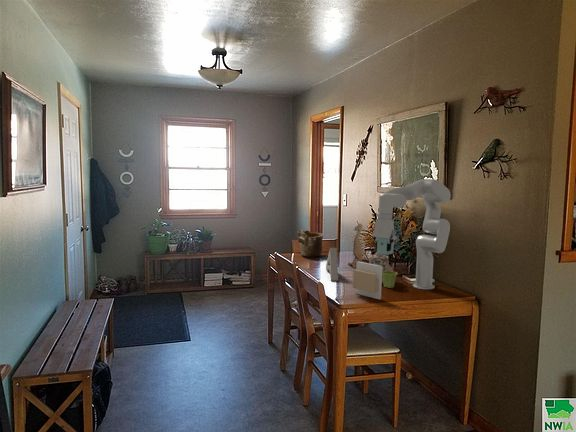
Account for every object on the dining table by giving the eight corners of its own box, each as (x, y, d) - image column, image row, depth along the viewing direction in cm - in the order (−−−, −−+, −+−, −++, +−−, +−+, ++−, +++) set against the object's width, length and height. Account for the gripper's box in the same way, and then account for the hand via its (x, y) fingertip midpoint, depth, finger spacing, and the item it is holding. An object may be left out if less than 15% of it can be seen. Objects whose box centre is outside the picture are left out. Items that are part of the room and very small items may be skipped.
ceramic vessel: (337, 247, 349) (319, 223, 342) (314, 267, 345) (296, 243, 339) (327, 242, 370) (310, 219, 364) (305, 261, 367) (287, 238, 360)
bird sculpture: (346, 265, 323) (347, 222, 319) (361, 264, 326) (362, 222, 322) (353, 269, 312) (353, 224, 309) (368, 268, 315) (369, 224, 312)
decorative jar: (388, 279, 282) (389, 251, 280) (387, 283, 271) (388, 254, 269) (369, 277, 285) (370, 250, 284) (367, 281, 274) (368, 253, 273)
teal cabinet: (387, 251, 246) (388, 235, 245) (396, 252, 242) (397, 236, 241) (376, 253, 238) (377, 236, 238) (385, 254, 234) (386, 238, 233)
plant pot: (378, 284, 268) (379, 270, 267) (394, 284, 268) (394, 270, 268) (383, 288, 258) (383, 274, 258) (398, 288, 259) (399, 274, 258)
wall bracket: (333, 296, 298) (338, 280, 272) (326, 296, 298) (331, 279, 272) (332, 266, 309) (336, 247, 283) (325, 266, 309) (330, 247, 283)
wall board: (356, 292, 248) (358, 261, 246) (380, 299, 237) (382, 266, 235) (351, 294, 244) (352, 262, 242) (375, 300, 233) (376, 267, 231)
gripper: (367, 215, 240) (365, 248, 241) (395, 218, 227) (393, 253, 229) (375, 215, 245) (373, 247, 246) (403, 218, 233) (400, 251, 234)
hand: (383, 249), depth 238 cm, fingers closed on teal cabinet, 6 cm apart
